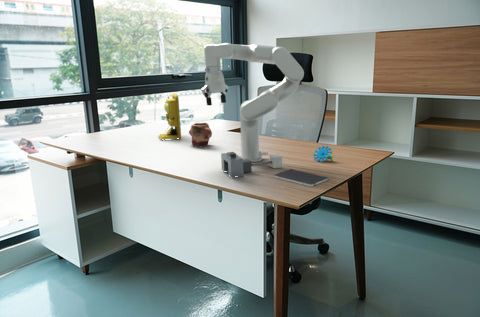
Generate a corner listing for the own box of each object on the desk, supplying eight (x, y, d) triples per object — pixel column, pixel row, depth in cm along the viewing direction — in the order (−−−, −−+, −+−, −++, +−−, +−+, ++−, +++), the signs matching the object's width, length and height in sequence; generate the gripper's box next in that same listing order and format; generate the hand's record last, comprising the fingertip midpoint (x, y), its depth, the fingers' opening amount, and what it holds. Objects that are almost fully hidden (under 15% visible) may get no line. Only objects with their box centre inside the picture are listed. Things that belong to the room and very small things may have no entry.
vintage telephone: (157, 134, 289) (153, 93, 281) (175, 133, 293) (172, 92, 285) (161, 142, 260) (158, 97, 252) (182, 140, 264) (179, 96, 256)
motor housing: (233, 168, 194) (232, 149, 191) (243, 176, 181) (242, 155, 178) (221, 170, 192) (220, 150, 189) (231, 178, 179) (230, 157, 176)
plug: (278, 165, 197) (278, 154, 195) (282, 167, 193) (282, 156, 191) (237, 170, 189) (236, 159, 188) (240, 173, 185) (239, 161, 184)
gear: (309, 157, 205) (319, 142, 206) (313, 163, 208) (323, 148, 210) (325, 163, 197) (336, 148, 198) (329, 170, 201) (340, 154, 202)
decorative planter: (220, 145, 245) (219, 123, 242) (206, 149, 237) (205, 126, 233) (198, 142, 258) (197, 121, 255) (184, 145, 249) (182, 124, 246)
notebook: (328, 180, 172) (290, 172, 187) (328, 177, 172) (290, 168, 187) (311, 187, 164) (273, 178, 179) (311, 184, 164) (273, 174, 179)
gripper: (204, 71, 189) (208, 106, 193) (231, 68, 200) (233, 101, 205) (195, 71, 194) (198, 106, 199) (221, 69, 206) (224, 101, 210)
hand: (216, 103), depth 202 cm, fingers open, 9 cm apart
